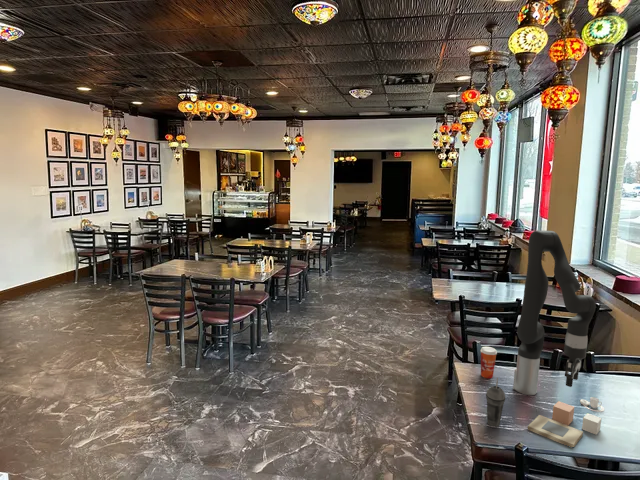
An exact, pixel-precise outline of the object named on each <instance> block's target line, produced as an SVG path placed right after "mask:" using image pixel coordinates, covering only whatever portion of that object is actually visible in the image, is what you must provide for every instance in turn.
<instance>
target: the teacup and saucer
mask: <svg viewBox="0 0 640 480" xmlns="http://www.w3.org/2000/svg"><path fill="white" fill-rule="evenodd" d="M589 399H590V400H589V401H588V400H586V399H583V398H581V399H580V400H579V403H580V404H581V405H582V406H583V407H584V408H586V409H588V410H590V411H593V412H597V413H600V412H601V413H602V412H605V407H604V406H602V402H601V401H600V399H599V398H597V397H595V396H590V398H589ZM599 403H600V404H599ZM588 406H590V407H591V408H589V407H588ZM592 408H593V409H592ZM596 408H600V409H599V410H598V409H596Z"/></svg>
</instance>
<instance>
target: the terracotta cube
mask: <svg viewBox="0 0 640 480" xmlns="http://www.w3.org/2000/svg"><path fill="white" fill-rule="evenodd" d="M574 414H575V406H574V405H571V404H568V403H565V402H563V401H560V400H558V401H557V402H556V403H555V404H554V405H553V407H552V416H551V417H552V418H551V419H552V420H554V421H557V422H559V423H562V424H564V425H567V426H570V425H571V423H573V420H574Z"/></svg>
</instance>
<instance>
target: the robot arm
mask: <svg viewBox="0 0 640 480" xmlns="http://www.w3.org/2000/svg"><path fill="white" fill-rule="evenodd" d="M528 239H529V240H528V244H527V245H528V249H527V251H528V253H527V268H526V277H525V283H524V288H523V289H524V290H523V298H522V308H521V313H520V318H519V322H518V325H517V330H516V331H517V332H516V333H517V334H516V335H517V337H518V339H519V340H520V341H521V344H520V345H519V347H517V348H518V349H517V359H516V368H515V369H514V375H513V385H512V389H513V390H515V391H516V392H518V393H520V394H523V395H526V396H534V395H536V394H537V391H538V382H539V381H538V380H539V372H540V361H541V355H542V352H543V347H544V343H545V342H544V341H545V329H544V326H543V325H542V323H541V322H540V321H539V316H540V313H541V310H543V309H542V308H543V306H544V304H545V302H546V299H547V297H548V291H549V279H548V275H547V273H546V272H545V269H544V266H543V263H542V259H543V252H545V253H547V252H548V253H550V255H551V257H552V258H553V261H554V265H553V266H554V267H553V268H554V269H553V274H554V278H555V281H556V283H557V284H558V286H559V288H560V289H561V294H562V299H563V305H564V307H565V309H566V310H567V311H568V312H570V313H571V314H576V315H575V316H573V317H572V316H571V317H570V318H569V319H568V321H567V327H566V334H565V339H564V341H565V342H564V347H563V350H564V351H563V353H564V355H565V356H566V357H568V359H567V361H566V362H565V370H564V377H566V378H565V386H566V387H570V388H572V387H573V385H574V384H573V381H574V380H575V381H577V380H578V379H579V371H580V370H581V368H582V360H583V359H586V357H587V348H588V342H589V341H588V340H589V339H588V333H589V325H590V323H591V321H592V318H593V316H594V314H595V312H596V309H597V308H596V307H597V306H596V301H595V298H594V297H592V296H591V295H588V294H585V295H584V294H579V295H578V294H576V293H577V292H578V291H580V289H581V287H582V286H581V284H580V281H579V280H578V278H577V277H576V275H575V273H574V270H573V269H572V268H571V267H572V266H571V265H570V262H569V260H568V257H567V253H566V252H565V251H566V250H565V249H564V246H563V243H562V241H561V238H560V236H559V234H558V233H557V232H555V231H554V230H533V231H532V232H531V233H530V235H529V238H528Z"/></svg>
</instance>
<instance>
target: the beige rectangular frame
mask: <svg viewBox="0 0 640 480" xmlns="http://www.w3.org/2000/svg"><path fill="white" fill-rule="evenodd" d="M527 430H529V431H530V432H532V433H535V434H537V435H540V436H542V437H544V438H546V439H550V440H551V441H554V442H557V443H560V445H561V444H562V445H563V444H564V446H566V445H567V446H566V447H568V446H570V447H569V448H571V447H576V445H577V444H578V443H579V441H580V440H581V438H582V437H583V435H584V431H583V430H580V429H577V428H574V427H572V426H570V425H568V426H567V425H565V424H562V423H560V422H557V421H554V420H552V418H549V417H546V416H544V415H541V414H538V416H536V417H535V418H534V419H533V420H532V421H531V422H530V423H529V424H528V425H527Z"/></svg>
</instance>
